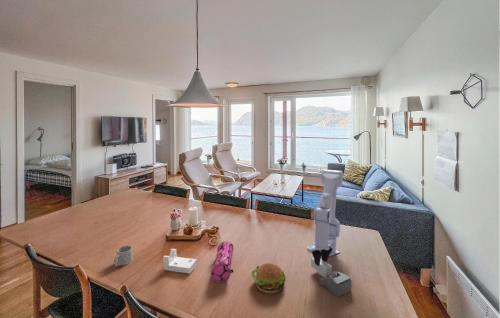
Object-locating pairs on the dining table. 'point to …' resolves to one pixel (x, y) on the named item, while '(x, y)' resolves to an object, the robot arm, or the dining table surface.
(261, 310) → the dining table surface
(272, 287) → the food
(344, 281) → the endcap
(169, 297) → the dining table surface
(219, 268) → the pencil case
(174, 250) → the bracket
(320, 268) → the white rectangular block
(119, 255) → the mug
